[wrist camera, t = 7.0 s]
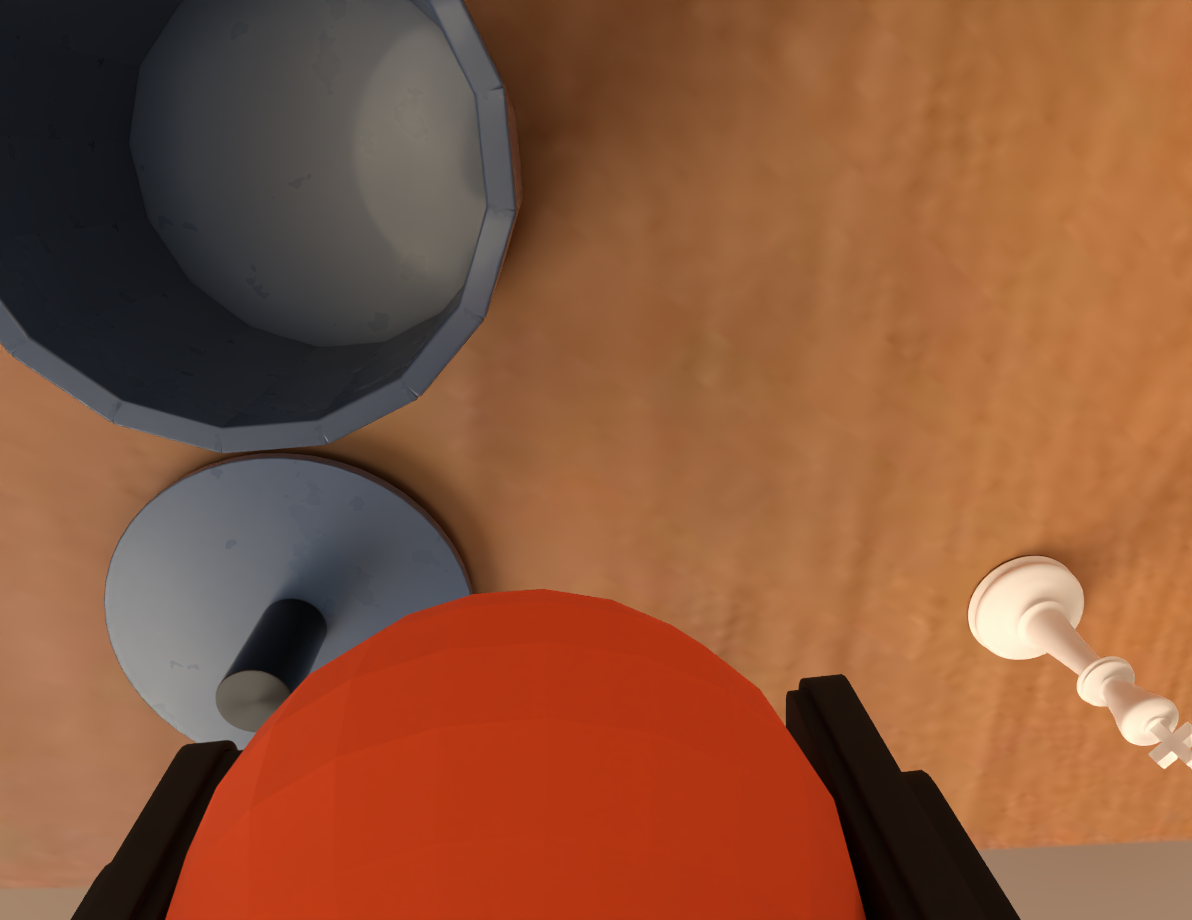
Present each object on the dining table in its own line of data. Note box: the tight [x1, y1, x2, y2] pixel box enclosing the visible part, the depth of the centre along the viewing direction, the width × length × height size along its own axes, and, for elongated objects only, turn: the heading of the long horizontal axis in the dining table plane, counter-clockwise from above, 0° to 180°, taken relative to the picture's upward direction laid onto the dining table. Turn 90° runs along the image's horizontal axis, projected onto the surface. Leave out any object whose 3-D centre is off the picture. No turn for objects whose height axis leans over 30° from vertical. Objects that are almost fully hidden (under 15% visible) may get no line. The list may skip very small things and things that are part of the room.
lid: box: [104, 453, 473, 750], centre depth 30 cm, size 14×14×6 cm
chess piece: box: [968, 556, 1192, 769], centre depth 31 cm, size 5×5×10 cm
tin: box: [0, 0, 523, 453], centre depth 23 cm, size 13×13×10 cm
